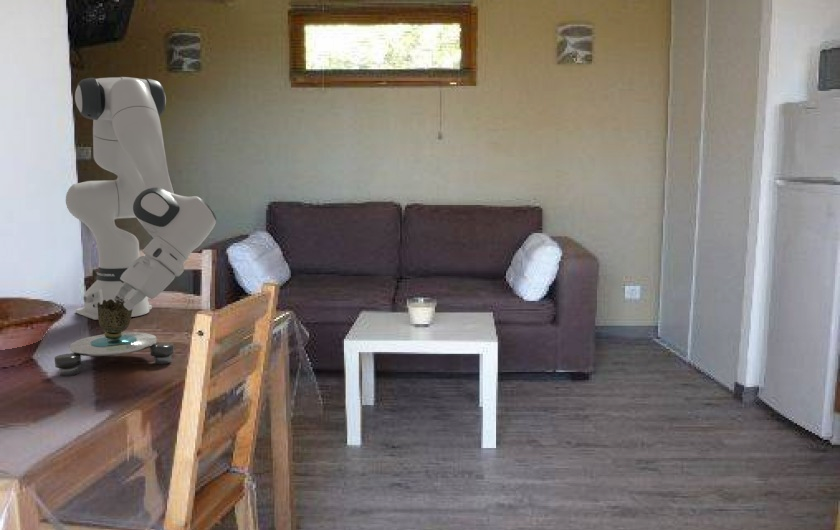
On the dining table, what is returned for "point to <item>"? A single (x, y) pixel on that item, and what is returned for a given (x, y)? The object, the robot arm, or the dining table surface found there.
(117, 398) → the dining table surface
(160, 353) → the leveling base
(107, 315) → the cup
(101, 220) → the robot arm
